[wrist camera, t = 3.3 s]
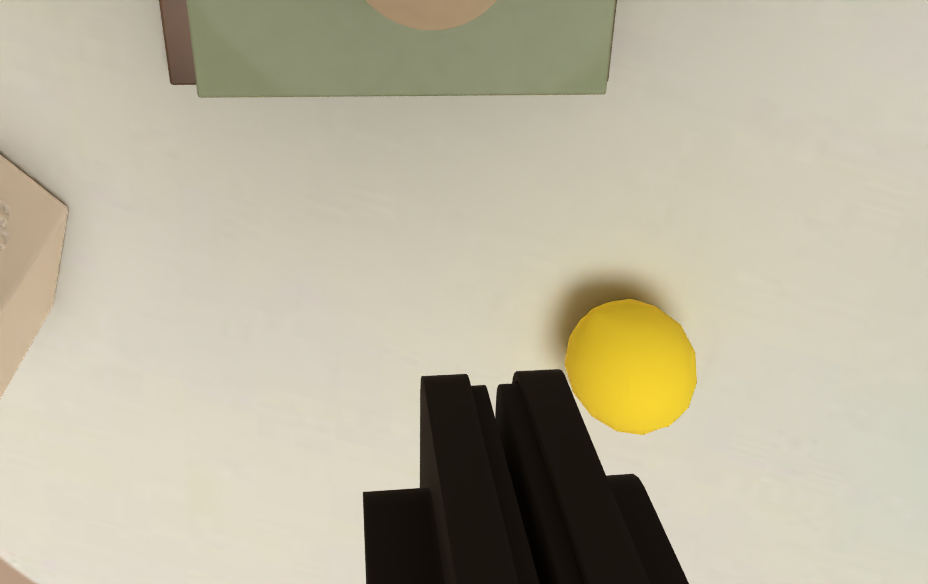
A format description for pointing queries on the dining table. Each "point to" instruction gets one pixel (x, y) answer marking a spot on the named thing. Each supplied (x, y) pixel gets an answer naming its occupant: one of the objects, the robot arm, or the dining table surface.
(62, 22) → the dining table surface
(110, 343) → the dining table surface
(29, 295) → the jar
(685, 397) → the lemon
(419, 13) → the bottle
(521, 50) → the block
